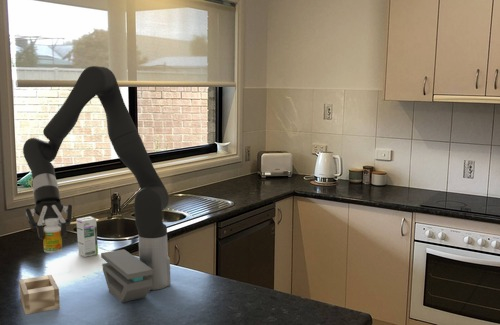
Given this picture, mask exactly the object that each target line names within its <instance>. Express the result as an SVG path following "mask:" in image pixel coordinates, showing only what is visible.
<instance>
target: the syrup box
mask: <svg viewBox="0 0 500 325" xmlns="http://www.w3.org/2000/svg"><path fill="white" fill-rule="evenodd" d="M75 221H76V233H77V234H76V235H77V249H78V254H79V255H80V256H82V257H84V258H86V257H90V256H95V255H98V254H99V248H98V247H99V246H98V245H99V244H98V228H97V227H98V226H97V218H96V217H94V216H91V215H89V216H85V217H79V218H76V220H75Z"/></svg>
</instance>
